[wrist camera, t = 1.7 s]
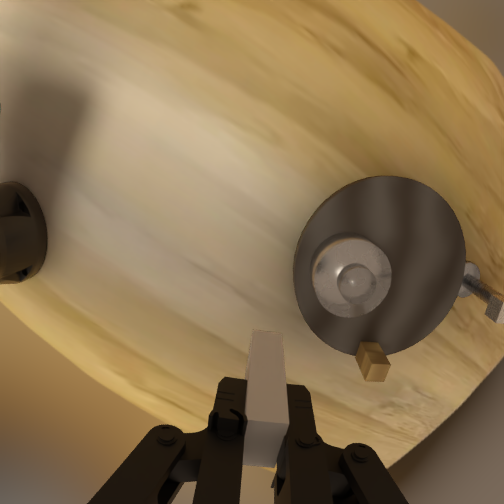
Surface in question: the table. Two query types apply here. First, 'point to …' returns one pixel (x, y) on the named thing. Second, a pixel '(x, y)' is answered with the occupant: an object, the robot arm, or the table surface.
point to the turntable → (401, 261)
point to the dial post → (482, 293)
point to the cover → (349, 274)
